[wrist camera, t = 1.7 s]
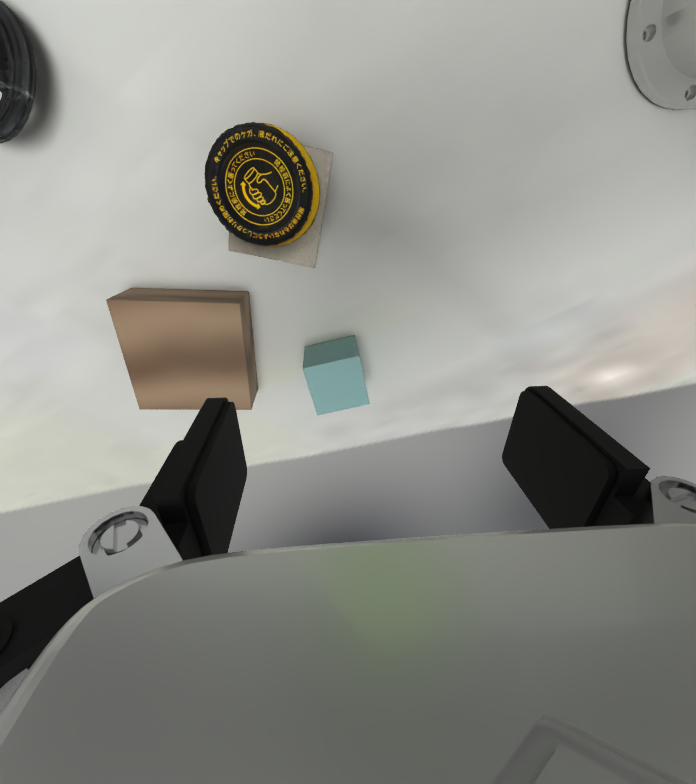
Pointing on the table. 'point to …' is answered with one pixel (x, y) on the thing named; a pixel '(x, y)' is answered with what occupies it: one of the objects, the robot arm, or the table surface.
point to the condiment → (268, 192)
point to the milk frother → (15, 75)
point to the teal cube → (335, 375)
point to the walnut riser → (186, 346)
